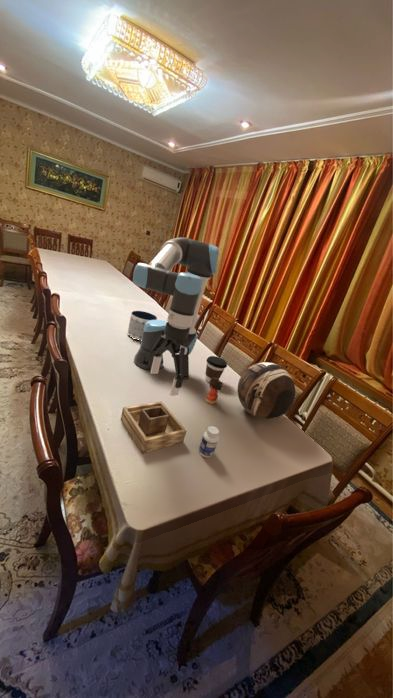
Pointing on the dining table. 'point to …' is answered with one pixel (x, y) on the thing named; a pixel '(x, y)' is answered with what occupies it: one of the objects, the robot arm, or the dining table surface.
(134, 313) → the planter
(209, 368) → the coffee cup
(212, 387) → the figurine
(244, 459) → the dining table surface
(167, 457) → the dining table surface
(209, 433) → the pill bottle
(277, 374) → the sphere
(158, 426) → the walnut crate
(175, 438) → the oak crate
